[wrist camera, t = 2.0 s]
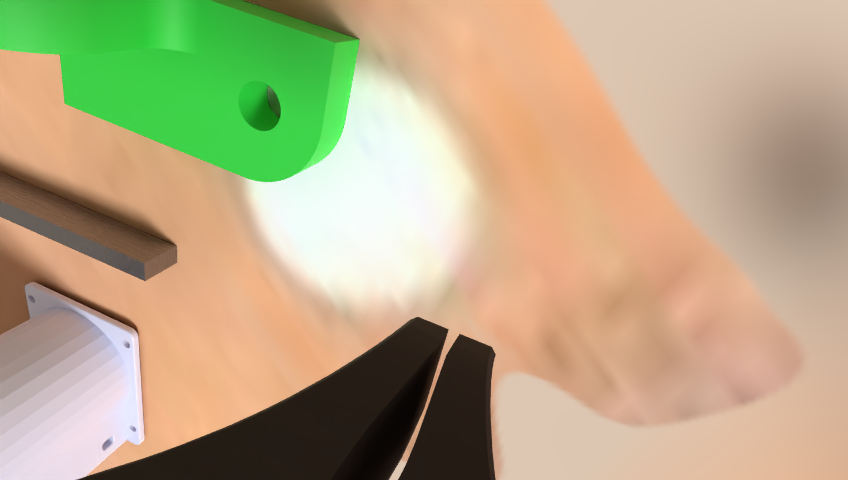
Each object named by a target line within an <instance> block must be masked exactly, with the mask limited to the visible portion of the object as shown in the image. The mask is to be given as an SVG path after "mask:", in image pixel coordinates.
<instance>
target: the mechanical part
mask: <svg viewBox="0 0 848 480" xmlns="http://www.w3.org/2000/svg"><path fill="white" fill-rule="evenodd" d="M358 46H359V39H356V38H354V37H351V36H348V35H345V34H342V33H339V32H336V31H333V30H330V29H327V28H324V27H321V26H318V25H315V24H312V23H309V22H306V21H303V20H300V19H297V18H294V17H291V16H288V15H285V14H282V13H279V12H276V11H273V10H270V9H267V8H264V7H261V6H258V5H255V4H252V3H249V2H246V1H243V0H0V49H3V50H10V51H19V52H29V53H41V54H60V60H61V70H62V81H63V91H64V102H65V104H67V105H69V106H72V107H74V108H76V109H79V110H81V111H84V112H86V113H89V114H91V115H93V116H96V117H98V118H101V119H103V120H106V121H108V122H111V123H113V124H115V125H118V126H120V127H123V128H125V129H128V130H130V131H133V132H135V133H137V134H140V135H142V136H145V137H147V138H150V139H152V140H155V141H157V142H159V143H162V144H164V145H167V146H169V147H172V148H174V149H177V150H179V151H181V152H184V153H186V154H189V155H191V156H194V157H196V158H199V159H201V160H203V161H206V162H208V163H211V164H213V165H216V166H218V167H221V168H223V169H225V170H228V171H230V172H233V173H235V174H238V175H240V176H243V177H245V178H248V179H251V180H255V181H261V182H275V181H280V180H284V179H287V178H289V177H291V176H293V175H295V174H297V173H299V172H301V171H303V170H305V169H307V168H309V167H311V166H312V165H314V164H316V163H318V162H320V161H321V160H323V159H324V158H325V157H326V156H327V155H328V154H329V153H330V152H331V151H332V150H333V148H334V147H335V146H336V144H337V142H338V140H339V138H340V136H341V134H342V131H343V128H344V124H345V119H346V114H347V108H348V102H349V97H350V91H351V86H352V80H353V74H354V69H355V63H356V57H357V52H358ZM268 86H269V87H270V88H271V89H272V90H273V91H274V92H275V94H276V95H277V97H278V100H279V103H280V107H281V115H280V118H279V117H278V116H277V115H276V114H275V113H274V112H273V111H272V109H271V107H270V105H269V102H268V98H267V90H268Z"/></svg>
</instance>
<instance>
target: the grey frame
mask: <svg viewBox="0 0 848 480" xmlns="http://www.w3.org/2000/svg"><path fill="white" fill-rule="evenodd" d="M0 217H2V218H4V219H7V220H9V221H11V222H13V223H16V224H18V225H20V226H22V227H25V228H27V229H29V230H31V231H34V232H36V233H38V234H40V235H43V236H45V237H47V238H49V239H52V240H54V241H56V242H58V243H61V244H63V245H65V246H67V247H70V248H72V249H74V250H76V251H79V252H81V253H83V254H85V255H88V256H90V257H92V258H94V259H97V260H99V261H101V262H103V263H106V264H108V265H110V266H112V267H115V268H117V269H119V270H121V271H124V272H126V273H128V274H130V275H133V276H135V277H137V278H139V279H142V280H144V281H146V280H148V279H149V278H151V277H153V276H155V275H156V274H158V273H160V272H162V271H163V270H165V269H167V268H168V267H170V266H172V265H174V264H175V263H177V249H176V246H175V245H173V244H171V243H168V242H166V241H164V240H161V239H159V238H156V237H154V236H152V235H149V234H147V233H145V232H142V231H140V230H138V229H135V228H133V227H130V226H128V225H126V224H123V223H121V222H119V221H116V220H114V219H111V218H109V217H107V216H104V215H102V214H100V213H97V212H95V211H92V210H90V209H88V208H85V207H83V206H81V205H78V204H76V203H73V202H71V201H69V200H66V199H64V198H62V197H59V196H57V195H54V194H52V193H50V192H47V191H45V190H43V189H40V188H38V187H35V186H33V185H31V184H28V183H26V182H24V181H21V180H19V179H16V178H14V177H12V176H9V175H7V174H5V173H2V172H0Z"/></svg>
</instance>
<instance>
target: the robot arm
mask: <svg viewBox="0 0 848 480" xmlns="http://www.w3.org/2000/svg"><path fill="white" fill-rule="evenodd" d="M25 294H26V299H27V304H28V310H29V315H30V319H29V320H27V321H25V322H23V323H21V324H20V325H18V326H16V327H14V328H12V329H10V330H8V331H6V332H4V333H3V334H1V335H0V480H389V478H390V477H391V475H392V473H393V472H394V470H395V468H396V467H397V465H398V463H399V461H400V460H401V458H402V456H403V454H404V452H405V450H406V447H407V445H408V443H409V441H410V439H411V437H412V434H413V432H414V430H415V428H416V426H417V423H418V421H419V419H420V417H421V415H422V412H423V410H424V407H425V404H426V401H427V398H428V394H429V391H430V388H431V385H432V382H433V378H434V375H435V372H436V369H437V365H438V362H439V359H440V356H441V352H442V349H443V346H444V343H445V339H446V336H447V333H448V330H449V329H446V328H444V327H441V326H439V325H437V324H434V323H432V322H429V321H427V320H424V319H422V318H419V317H416V318H414V319H411V320H410V321H408V322H407V323H406V324H405V325H403V326H402V327H401V328H399V329H398V330H397V331H395V332H394V333H393V334H391V335H390V336H389V337H387V338H386V339H384V340H383V341H382V342H380V343H379V344H377V345H376V346H374V347H373V348H371V349H370V350H368V351H367V352H365V353H364V354H362V355H361V356H359V357H357V358H356V359H354V360H353V361H351V362H350V363H348V364H346V365H345V366H343V367H342V368H340V369H339V370H337V371H335V372H334V373H332V374H330V375H329V376H327V377H325V378H323V379H321V380H320V381H318V382H316V383H314V384H312V385H311V386H309V387H307V388H305V389H303V390H301V391H300V392H298V393H296V394H294V395H292V396H291V397H289V398H287V399H285V400H283V401H281V402H279V403H277V404H275V405H273V406H271V407H269V408H267V409H265V410H263V411H260V412H258V413H256V414H254V415H252V416H250V417H247V418H245V419H243V420H241V421H238V422H236V423H234V424H232V425H229V426H227V427H225V428H222V429H220V430H217V431H215V432H212V433H210V434H207V435H205V436H202V437H200V438H197V439H195V440H192V441H190V442H187V443H185V444H182V445H180V446H177V447H174V448H171V449H169V450H166V451H163V452H161V453H158V454H155V455H152V456H149V457H146V458H143V459H140V460H137V461H134V462H130V463H127V464H124V465H121V466H118V467H115V468H111V469H108V470H105V471H102V472H99V473H96V474H93V475H89V476H86V475H88V474H89V473H90V472H91V471H92V470H93V469H94V468H96V467H97V466H98V465H99V464H100V463H101V462H102V461H104V460H105V459H106V458H107V457H108V456H109V455H110V454H111V453H113V452H114V451H115V450H116V449H117V448H118V447H119V446H121V445H122V444H123V443H124V442H125V441H126V440H128V441H130V442H132V443H133V444H136V445H139V444H140V443H142V442H143V441H144V423H143V406H142V390H141V374H140V357H139V341H138V334H137V332H136V331H135V330H134V329H133V328H131V327H129V326H127V325H125V324H123V323H121V322H119V321H117V320H114V319H112V318H110V317H108V316H106V315H104V314H102V313H100V312H97V311H95V310H93V309H91V308H89V307H87V306H85V305H82V304H80V303H78V302H76V301H74V300H72V299H70V298H68V297H65V296H63V295H61V294H59V293H57V292H55V291H53V290H51V289H48V288H46V287H44V286H42V285H40V284H38V283H35V282H30V283H28V284H26V285H25ZM495 355H496V354H495V352H494V350H493V348H492V347H490V346H488V345H486V344H483V343H481V342H478V341H476V340H473V339H471V338H468V337H466V336H463V335H461V334H459V336H458V337H457V339H456V340H455V342H454V344H453V345H452V347H451V349H450V350H449V352H448V354H447V355H446V358H445V361H444V363H443V366H442V369H441V372H440V375H439V377H438V380H437V383H436V386H435V389H434V392H433V394H432V397H431V400H430V403H429V406H428V408H427V411H426V414H425V417H424V420H423V422H422V425H421V428H420V431H419V434H418V436H417V439H416V442H415V445H414V447H413V449H412V452H411V454H410V456H409V459H408V461H407V463H406V466H405V468H404V470H403V472H402V473H401V476H400V477H399V479H398V480H495V472H494V462H493V452H492V434H491V413H490V398H491V377H492V368H493V362H494V358H495ZM85 476H86V477H85Z"/></svg>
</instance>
